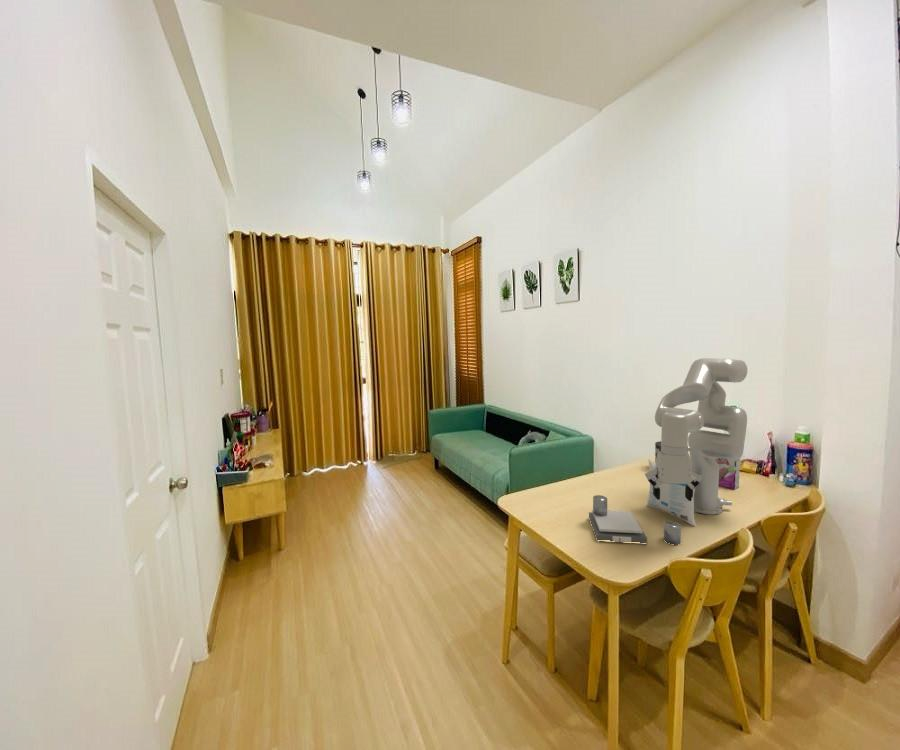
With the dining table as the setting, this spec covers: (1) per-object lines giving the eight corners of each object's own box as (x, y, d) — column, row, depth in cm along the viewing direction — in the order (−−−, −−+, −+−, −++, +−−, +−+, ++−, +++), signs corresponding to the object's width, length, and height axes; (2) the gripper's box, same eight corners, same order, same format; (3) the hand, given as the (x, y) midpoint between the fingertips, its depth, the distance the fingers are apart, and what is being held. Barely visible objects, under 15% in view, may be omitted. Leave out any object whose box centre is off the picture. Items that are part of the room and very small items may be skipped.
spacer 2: (676, 537, 128) (677, 521, 128) (683, 545, 124) (683, 529, 123) (661, 536, 129) (661, 520, 129) (666, 544, 125) (667, 528, 124)
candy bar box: (706, 482, 170) (707, 448, 168) (710, 479, 173) (711, 446, 171) (735, 490, 161) (736, 454, 159) (739, 487, 164) (741, 451, 162)
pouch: (687, 530, 133) (689, 477, 130) (641, 508, 150) (642, 460, 148) (701, 524, 136) (703, 472, 133) (654, 503, 153) (655, 457, 151)
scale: (632, 520, 141) (632, 510, 140) (647, 545, 125) (647, 534, 124) (588, 518, 144) (588, 508, 143) (597, 542, 128) (597, 531, 127)
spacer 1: (605, 510, 141) (605, 495, 141) (608, 516, 136) (608, 501, 136) (592, 509, 142) (591, 495, 142) (594, 516, 137) (594, 501, 137)
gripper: (697, 446, 125) (695, 495, 126) (642, 445, 128) (641, 492, 130) (708, 453, 117) (706, 505, 119) (649, 452, 120) (648, 502, 122)
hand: (672, 498), depth 124 cm, fingers open, 9 cm apart
